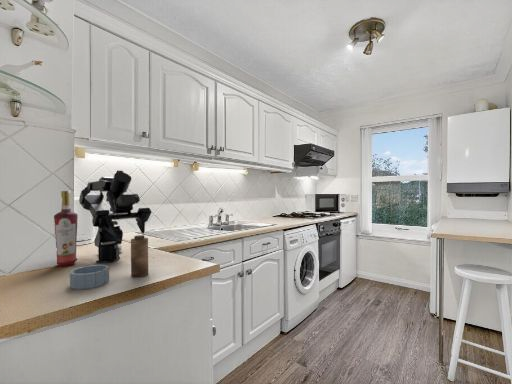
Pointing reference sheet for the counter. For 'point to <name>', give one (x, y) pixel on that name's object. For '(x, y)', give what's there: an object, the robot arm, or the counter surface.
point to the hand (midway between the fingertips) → (130, 234)
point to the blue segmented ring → (89, 277)
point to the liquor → (66, 232)
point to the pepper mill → (139, 256)
